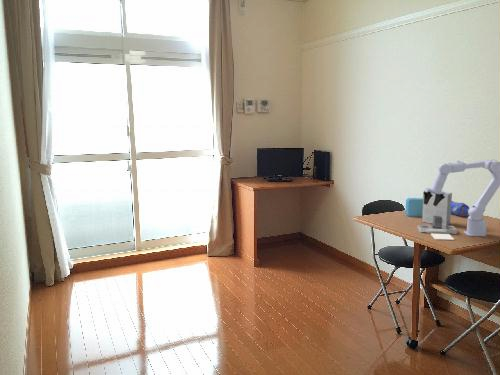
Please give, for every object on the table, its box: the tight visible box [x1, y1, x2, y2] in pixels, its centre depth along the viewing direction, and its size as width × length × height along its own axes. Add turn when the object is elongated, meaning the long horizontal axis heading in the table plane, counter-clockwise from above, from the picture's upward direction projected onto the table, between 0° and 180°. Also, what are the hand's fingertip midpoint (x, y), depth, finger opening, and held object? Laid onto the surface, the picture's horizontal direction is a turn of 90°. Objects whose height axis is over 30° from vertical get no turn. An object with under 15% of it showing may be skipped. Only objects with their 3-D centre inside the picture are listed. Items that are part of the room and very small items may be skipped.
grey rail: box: [417, 224, 458, 235], centre depth 245 cm, size 20×8×3 cm, turn 80°
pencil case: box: [451, 200, 470, 218], centre depth 284 cm, size 22×9×10 cm, turn 19°
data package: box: [405, 197, 423, 218], centre depth 280 cm, size 12×4×12 cm, turn 90°
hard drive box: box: [421, 191, 453, 226], centre depth 261 cm, size 16×8×20 cm, turn 47°
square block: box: [432, 216, 443, 228], centre depth 244 cm, size 4×4×9 cm
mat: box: [430, 233, 455, 241], centre depth 233 cm, size 10×10×1 cm
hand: (429, 204), depth 242 cm, fingers open, 7 cm apart
